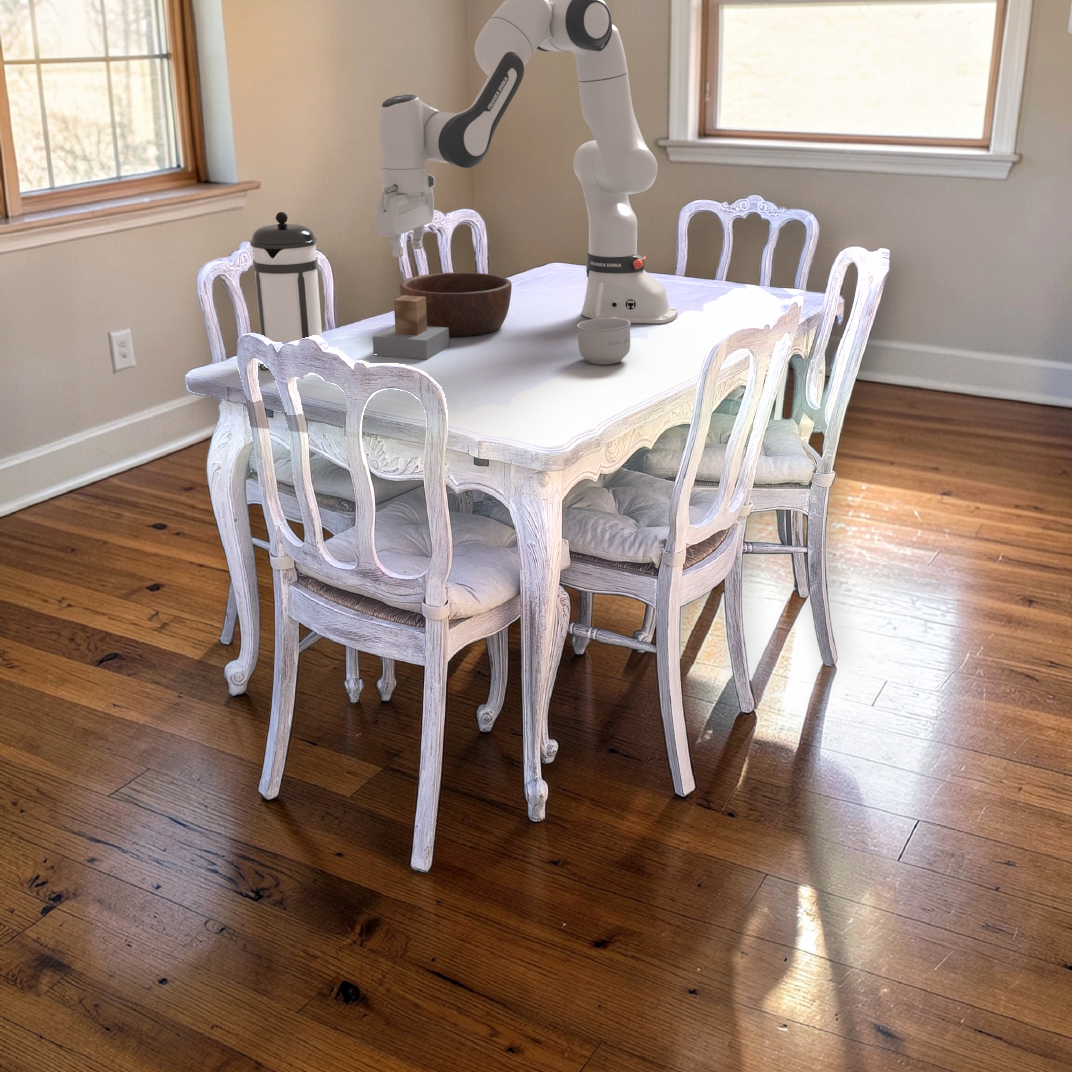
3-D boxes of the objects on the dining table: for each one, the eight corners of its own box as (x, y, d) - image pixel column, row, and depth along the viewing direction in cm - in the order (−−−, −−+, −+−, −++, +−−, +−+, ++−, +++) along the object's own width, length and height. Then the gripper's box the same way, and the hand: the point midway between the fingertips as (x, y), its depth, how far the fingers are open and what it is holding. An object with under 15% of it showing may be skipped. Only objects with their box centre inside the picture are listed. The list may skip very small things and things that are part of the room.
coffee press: (348, 366, 243) (338, 212, 232) (272, 377, 235) (258, 219, 224) (313, 348, 257) (302, 203, 245) (241, 359, 249) (226, 209, 237)
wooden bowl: (532, 323, 279) (532, 278, 275) (472, 345, 259) (471, 297, 255) (443, 311, 290) (441, 268, 286) (379, 332, 271) (376, 286, 267)
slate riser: (449, 346, 258) (448, 327, 257) (427, 359, 248) (426, 340, 246) (397, 342, 262) (396, 323, 260) (373, 355, 251) (372, 336, 250)
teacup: (613, 370, 239) (614, 330, 236) (566, 363, 244) (566, 324, 241) (646, 355, 250) (647, 317, 247) (600, 349, 255) (600, 311, 252)
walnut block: (427, 330, 255) (425, 296, 252) (417, 335, 250) (416, 301, 248) (405, 328, 256) (403, 295, 253) (395, 333, 252) (393, 300, 249)
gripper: (397, 189, 231) (401, 262, 237) (438, 176, 249) (441, 245, 255) (367, 188, 233) (371, 260, 239) (410, 176, 251) (413, 243, 256)
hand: (407, 252), depth 247 cm, fingers open, 8 cm apart
